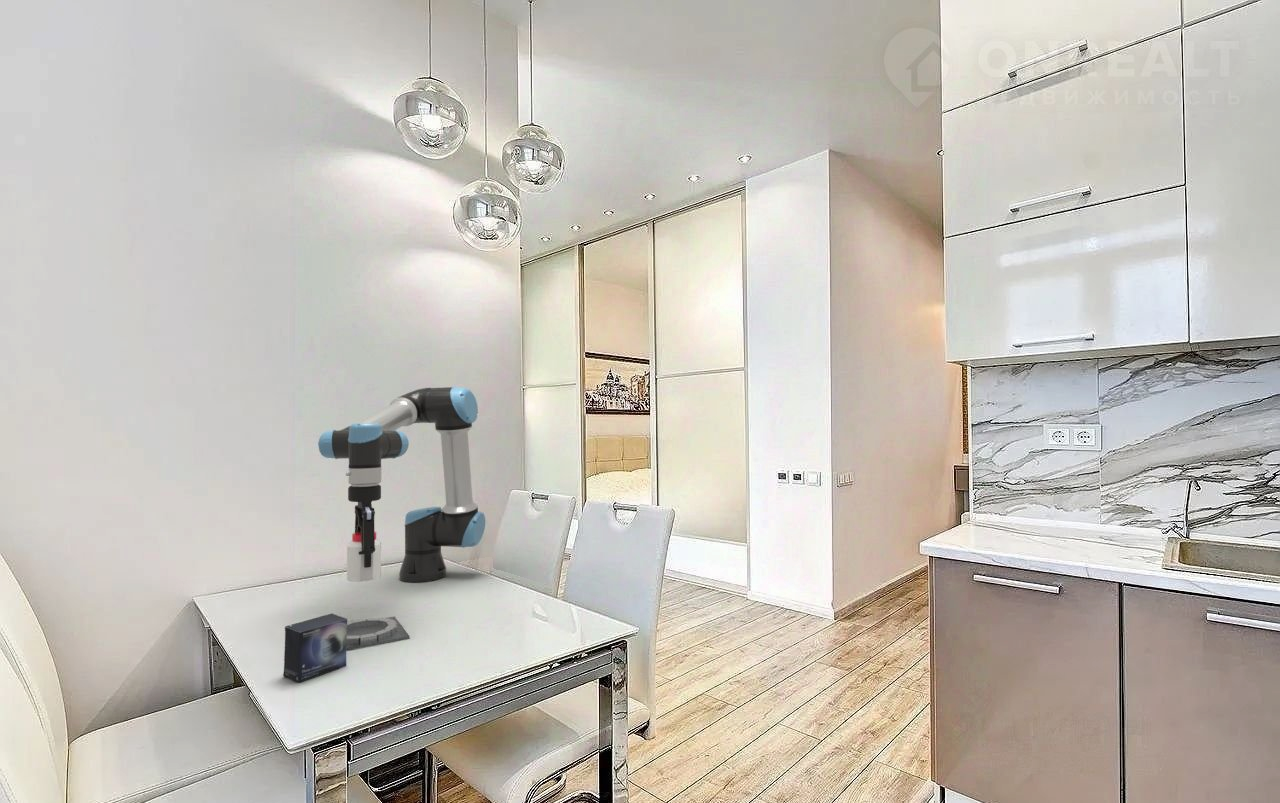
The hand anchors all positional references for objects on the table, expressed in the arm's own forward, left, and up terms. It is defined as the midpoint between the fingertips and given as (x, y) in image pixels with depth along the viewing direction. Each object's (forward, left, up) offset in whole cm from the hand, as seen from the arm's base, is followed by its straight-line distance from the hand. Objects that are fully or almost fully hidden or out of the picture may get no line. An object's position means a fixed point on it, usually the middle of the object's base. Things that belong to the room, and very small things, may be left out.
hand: (363, 576), depth 151 cm
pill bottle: (0, 0, 0) cm, 0 cm away
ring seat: (0, 0, -14) cm, 14 cm away
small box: (+12, +18, -15) cm, 26 cm away
